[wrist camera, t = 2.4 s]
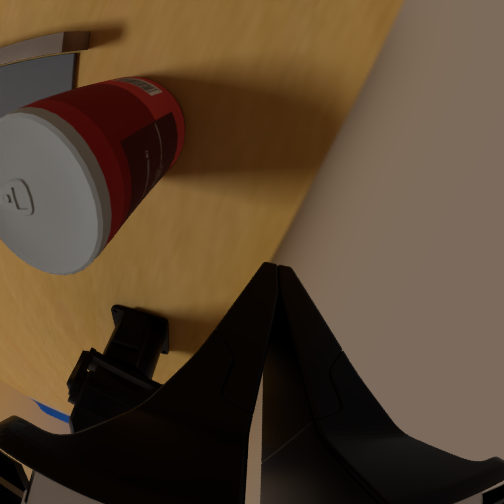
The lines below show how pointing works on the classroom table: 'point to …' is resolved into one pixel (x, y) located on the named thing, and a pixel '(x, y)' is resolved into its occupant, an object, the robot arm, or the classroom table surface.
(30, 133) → the canned food
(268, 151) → the classroom table surface
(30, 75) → the mat
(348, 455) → the robot arm
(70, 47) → the cradle
